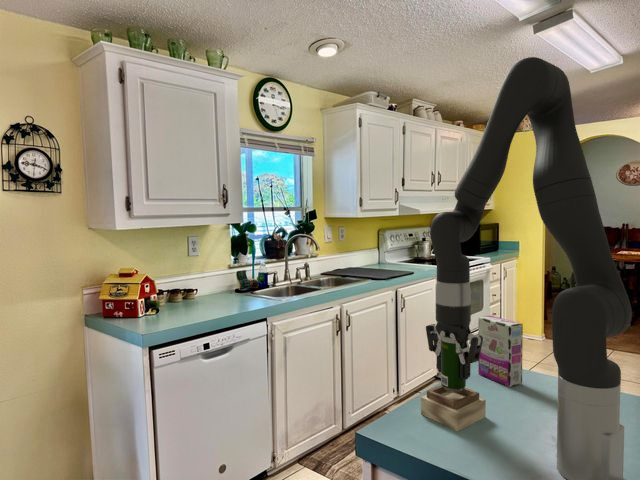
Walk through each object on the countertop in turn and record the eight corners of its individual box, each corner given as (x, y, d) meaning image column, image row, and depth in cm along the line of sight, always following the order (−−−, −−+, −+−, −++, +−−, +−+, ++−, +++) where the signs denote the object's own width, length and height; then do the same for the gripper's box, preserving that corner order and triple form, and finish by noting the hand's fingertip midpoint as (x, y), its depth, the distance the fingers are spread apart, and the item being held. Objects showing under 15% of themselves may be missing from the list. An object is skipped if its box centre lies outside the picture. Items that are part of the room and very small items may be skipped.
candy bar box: (523, 384, 115) (524, 323, 114) (509, 388, 113) (510, 326, 112) (490, 370, 125) (490, 314, 124) (477, 374, 123) (477, 316, 122)
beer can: (454, 394, 95) (454, 340, 94) (435, 386, 100) (435, 334, 99) (470, 388, 98) (471, 335, 97) (451, 380, 103) (451, 330, 102)
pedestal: (485, 417, 98) (485, 393, 98) (457, 431, 92) (457, 405, 92) (448, 401, 106) (448, 379, 106) (420, 414, 100) (420, 390, 100)
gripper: (491, 304, 94) (491, 380, 95) (437, 294, 105) (438, 362, 107) (470, 309, 89) (470, 390, 91) (416, 298, 101) (417, 370, 102)
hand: (452, 374), depth 99 cm, fingers closed on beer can, 5 cm apart
